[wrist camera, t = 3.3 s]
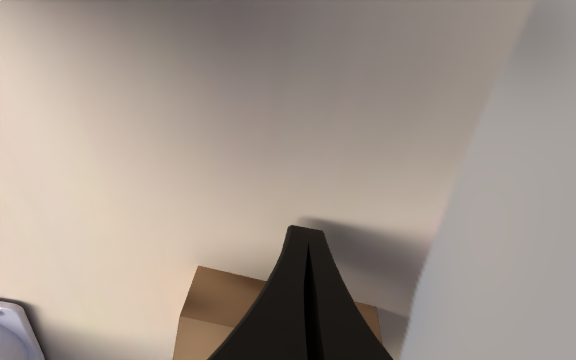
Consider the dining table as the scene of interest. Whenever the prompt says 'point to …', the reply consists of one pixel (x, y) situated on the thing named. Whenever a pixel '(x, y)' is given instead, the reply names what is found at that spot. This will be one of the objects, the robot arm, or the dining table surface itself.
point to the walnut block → (225, 312)
